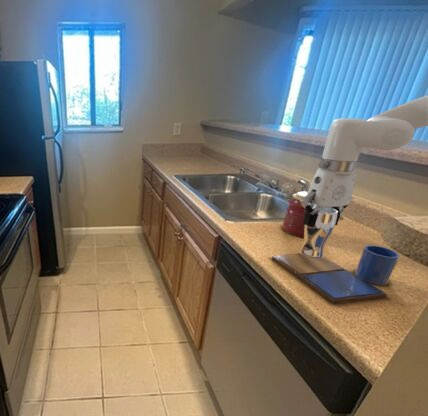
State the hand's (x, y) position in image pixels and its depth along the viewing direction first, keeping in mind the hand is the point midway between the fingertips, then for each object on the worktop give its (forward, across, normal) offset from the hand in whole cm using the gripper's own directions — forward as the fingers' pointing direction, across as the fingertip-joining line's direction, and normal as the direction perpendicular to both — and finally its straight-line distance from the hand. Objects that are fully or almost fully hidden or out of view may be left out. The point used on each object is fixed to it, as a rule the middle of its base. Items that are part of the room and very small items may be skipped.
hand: (319, 224), depth 82 cm
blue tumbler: (+15, +13, -8) cm, 21 cm away
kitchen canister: (+15, +18, +22) cm, 32 cm away
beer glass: (+10, 0, 0) cm, 10 cm away
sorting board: (+15, 0, -6) cm, 16 cm away
